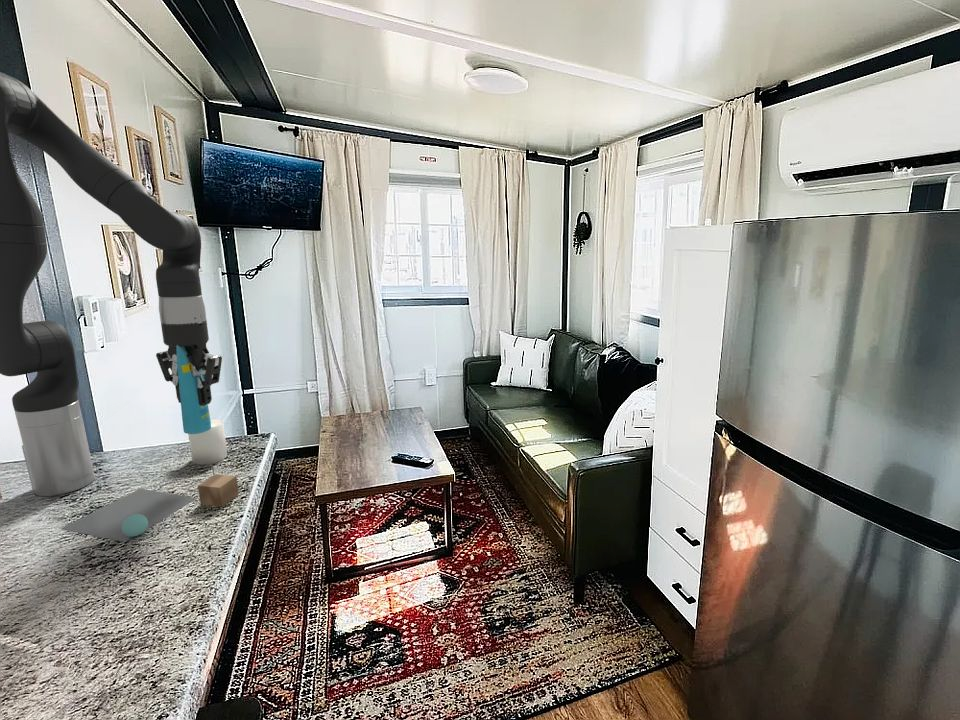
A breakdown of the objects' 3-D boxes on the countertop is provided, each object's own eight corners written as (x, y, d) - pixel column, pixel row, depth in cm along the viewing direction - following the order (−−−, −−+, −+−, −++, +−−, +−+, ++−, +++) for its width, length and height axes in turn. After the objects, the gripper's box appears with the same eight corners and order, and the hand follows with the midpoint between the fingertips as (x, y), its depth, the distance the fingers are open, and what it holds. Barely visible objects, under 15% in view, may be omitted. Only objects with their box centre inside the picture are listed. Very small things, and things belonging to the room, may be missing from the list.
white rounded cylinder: (184, 462, 103) (179, 429, 101) (208, 449, 110) (204, 418, 108) (211, 466, 102) (206, 432, 100) (234, 452, 109) (230, 421, 107)
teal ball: (118, 539, 75) (114, 520, 74) (138, 527, 78) (135, 508, 78) (135, 542, 74) (131, 523, 73) (155, 530, 77) (151, 511, 77)
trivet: (61, 531, 78) (61, 528, 78) (140, 491, 91) (140, 488, 91) (125, 545, 75) (125, 541, 74) (198, 500, 88) (197, 498, 88)
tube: (204, 436, 92) (192, 341, 87) (177, 438, 90) (163, 342, 86) (216, 422, 99) (205, 334, 94) (191, 424, 97) (179, 334, 93)
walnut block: (197, 485, 85) (219, 487, 84) (215, 474, 89) (236, 476, 88) (201, 507, 86) (222, 509, 85) (218, 495, 90) (239, 497, 89)
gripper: (136, 320, 87) (149, 405, 91) (198, 324, 84) (209, 413, 88) (171, 314, 94) (182, 394, 98) (229, 318, 91) (238, 401, 95)
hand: (195, 402), depth 93 cm, fingers closed on tube, 4 cm apart
